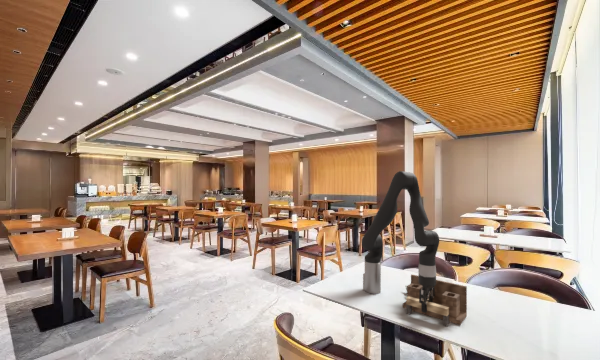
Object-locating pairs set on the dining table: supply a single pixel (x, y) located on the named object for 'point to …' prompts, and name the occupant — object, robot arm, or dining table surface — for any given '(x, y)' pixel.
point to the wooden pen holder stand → (443, 299)
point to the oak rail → (428, 308)
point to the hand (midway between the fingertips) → (427, 309)
